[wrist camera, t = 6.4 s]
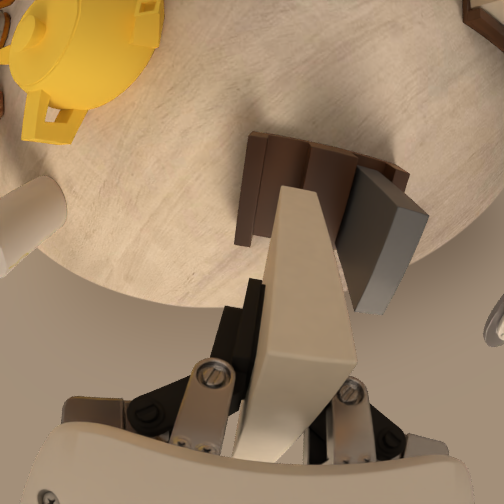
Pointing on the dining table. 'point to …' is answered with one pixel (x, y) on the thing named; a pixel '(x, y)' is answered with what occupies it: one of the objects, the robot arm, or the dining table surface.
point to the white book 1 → (295, 333)
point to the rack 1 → (299, 180)
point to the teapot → (78, 58)
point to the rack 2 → (483, 24)
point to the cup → (29, 219)
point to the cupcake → (1, 105)
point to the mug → (4, 21)
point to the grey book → (377, 239)
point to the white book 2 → (491, 8)
